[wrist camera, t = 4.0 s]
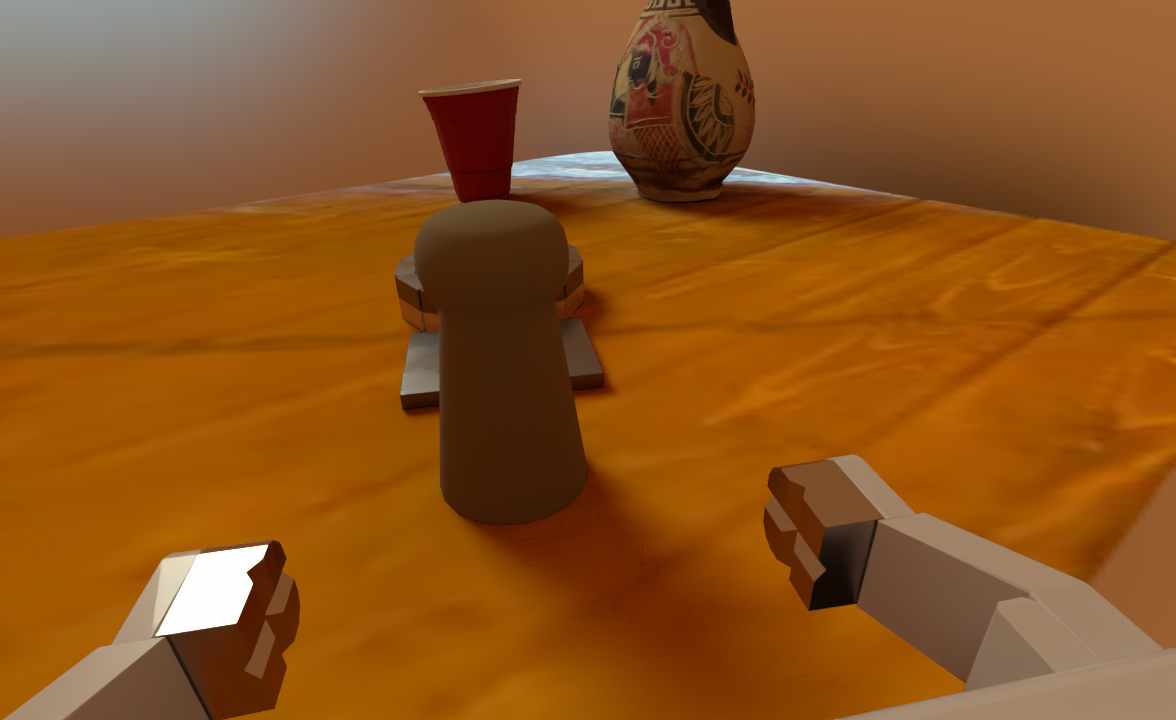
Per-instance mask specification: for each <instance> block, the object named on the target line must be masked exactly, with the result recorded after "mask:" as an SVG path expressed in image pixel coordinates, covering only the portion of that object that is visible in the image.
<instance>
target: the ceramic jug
mask: <svg viewBox="0 0 1176 720" xmlns="http://www.w3.org/2000/svg"><path fill="white" fill-rule="evenodd" d="M753 88H754V87H753V81H752V80H751V76H750V71H749V68H748V64H747V61H746V58H745V56H744V53H743V51H742V49H741V46H740V44H739V41H738V39H737V36H736V34H735V32H734V28H733V20H732V15H731V7H730V2H729V0H650V2H649V4H648V5H647V7H646V8H645V9H644V12H643V13H642V15H641V17H640V19H639V21H638V23H637V25H636V27H635V29H634V31H633V33H632V36H631V38H630V40H629V42H628V44H627V46H626V48H625V51H624V53H623V55H622V58H621V60H620V62H619V64H618V68H617V72H616V75H615V78H614V83H613V88H612V93H611V98H610V105H609V114H608V126H609V127H608V128H609V129H608V131H609V137H610V141H611V145H612V149H613V152H614V154H615V156H616V157H617V159H618V160H619V162H620V163H621V164H622V166H623V167H624V168H625V170H626V171H627V172H628V174H629V175H630V176H631V178H632V179H633V181H634V183H635V185H636V186H637V188H638V194H639V195H640V196H641V197H643V198H648V199H651V200H655V201H664V202H673V201H698V200H704V199H714V198H716V197H718V196H719V195H720V193H721V192H722V191H723V184H722V181H723V180H724V179H725V178H726V177H727V176H728V174H729V173H730V172H731V171H732V170H733V169H734V168H735V167H736V165H737V164H738V163H739V162H740V161H741V159H742V158H743V156H744V154H745V153H746V151H747V149H748V147H749V145H750V141H751V138H752V134H753V130H754V123H755V98H754V92H753Z"/></svg>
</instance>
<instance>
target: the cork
mask: <svg viewBox="0 0 1176 720" xmlns="http://www.w3.org/2000/svg"><path fill="white" fill-rule="evenodd" d="M414 263H415V268H416V274H417V277H418V279H419V281H420V283H421V285H422V288H423V290H424V292H425V294H426V296H427V298H428V299H429V300H430V301H431V302H432V303H433V304H434V305H435V306H436V307H437V308H438V309H439V394H440V486H441V490H442V493H443V496H444V499H445V501H446V502H447V503H448V504H449V505H450V506H451V507H452V508H453V509H454V510H455V511H456V512H457V513H459V514H462V515H464V516H466V517H468V518H470V519H472V520H474V521H478V522H484V523H491V524H497V525H506V524H519V523H527V522H531V521H534V520H537V519H541V518H544V517H547V516H550V515H552V514H553V513H555V512H557V511H559V510H560V509H562V508H564V507H565V506H567V505H569V504H570V503H571V502H572V501H573V499H574V498H575V497H576V496H577V495H578V494H579V493H580V492H581V491H582V489H583V486H584V484H585V481H586V478H587V476H588V474H587V466H586V459H585V454H584V449H583V443H582V438H581V433H580V428H579V422H578V417H577V412H576V407H575V401H574V396H573V391H572V386H571V380H570V375H569V370H568V365H567V359H566V354H565V349H564V344H563V338H562V333H561V328H560V323H559V317H558V312H557V307H556V302H555V299H556V297H557V296H558V294H559V293H560V291H561V290H562V288H563V287H564V286H565V284H566V280H567V275H568V271H569V248H568V243H567V239H566V236H565V232H564V229H563V227H562V225H561V224H560V222H559V221H558V219H557V218H556V216H555V215H554V214H552V213H551V212H549V211H548V210H546V209H544V208H542V207H541V206H538V205H535V204H531V203H526V202H519V201H510V200H483V201H474V202H469V203H464V204H460V205H455V206H452V207H449V208H446V209H442V210H440V211H438V212H437V213H435V214H433V215H432V216H431V217H429V218H428V219H427V220H425V221H424V223H423V225H422V227H421V229H420V231H419V233H418V236H417V238H416V240H415V247H414Z"/></svg>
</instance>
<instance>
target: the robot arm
mask: <svg viewBox="0 0 1176 720" xmlns="http://www.w3.org/2000/svg"><path fill="white" fill-rule="evenodd" d="M767 486H768V488H769V489H770V491H771V492H772V494H773V495H774V496H773V497H772V498H771V499H770V501H769V502H768V503H767V504H766V505H765V508H764V519H763V522H764V528H765V534H766V538H767V541H768V543H769V546H770V549H771V550H772V552H773V554H774V555H775V557H776V559H777V560H779V561H780V562H782V563H784V564H785V565H787V566H789V567H791V571H790V578H789V580H790V582H791V583H792V585H793V587H794V588H795V590H796V591H797V593H798V595H799V596H800V598H801V600H802V601H803V603H804V604H805V606H806V608H807V609H808V611H813V610H819V609H826V608H832V607H839V606H845V605H852V604H857V607H858V608H860V609H861V610H863V611H864V612H866V613H867V614H868V615H870V616H871V617H873V618H874V619H875V620H877V621H878V622H880V623H881V624H882V625H884V626H885V627H887V628H888V629H890V630H891V631H892V632H894V633H895V634H897V635H898V636H899V637H901V638H902V639H904V640H905V641H906V642H908V643H909V644H911V645H912V646H913V647H915V648H916V649H918V650H919V651H921V652H922V653H923V654H925V655H926V656H928V657H929V658H930V659H932V660H933V661H935V662H936V663H937V664H939V665H940V666H942V667H943V668H945V669H946V670H947V671H949V672H950V673H952V674H953V675H954V676H956V677H957V678H959V679H960V680H961V681H963V682H964V683H966V684H965V686H964V689H963V691H962V693H957V694H952V695H947V696H943V697H938V698H933V699H928V700H924V701H919V702H914V703H909V704H905V705H900V706H895V707H891V708H886V709H881V710H876V711H872V712H867V713H862V714H857V715H853V716H848V717H843V718H839V719H834V720H1176V647H1174V648H1170V649H1165V650H1163V649H1162V648H1161V647H1160V646H1159V645H1158V644H1156V643H1155V642H1154V641H1153V640H1152V639H1151V638H1150V637H1148V636H1147V635H1146V634H1145V633H1144V632H1143V631H1141V630H1140V629H1139V628H1138V627H1137V626H1136V625H1135V624H1133V623H1132V622H1131V621H1130V620H1128V618H1126V617H1125V616H1124V615H1123V614H1122V613H1121V612H1119V611H1118V610H1117V609H1116V608H1114V606H1113V605H1111V604H1110V603H1109V602H1108V601H1107V600H1105V599H1104V598H1103V597H1102V596H1101V595H1100V594H1098V593H1097V592H1096V591H1095V590H1094V589H1093V588H1092V587H1091V586H1089V585H1088V584H1087V583H1085V582H1083V581H1081V580H1078V579H1076V578H1074V577H1071V576H1069V575H1067V574H1064V573H1062V572H1060V571H1057V570H1055V569H1053V568H1051V567H1048V566H1046V565H1044V564H1041V563H1039V562H1037V561H1034V560H1032V559H1030V558H1027V557H1025V556H1023V555H1021V554H1018V553H1016V552H1014V551H1011V550H1009V549H1007V548H1004V547H1002V546H1000V545H997V544H995V543H993V542H991V541H988V540H986V539H984V538H981V537H979V536H977V535H974V534H972V533H970V532H967V531H965V530H963V529H961V528H958V527H956V526H954V525H951V524H949V523H947V522H944V521H942V520H940V519H937V518H935V517H933V516H931V515H928V514H926V513H921V514H916V513H915V512H914V511H913V510H912V509H911V508H910V507H909V506H908V505H907V504H906V503H905V502H904V501H903V500H902V499H901V498H900V497H899V496H898V495H897V494H896V493H895V492H894V491H893V490H892V489H891V488H890V487H889V486H888V485H887V484H886V483H885V482H884V481H883V480H882V479H881V478H880V477H879V475H878V474H877V473H876V472H875V471H874V470H873V469H872V468H871V467H870V466H869V465H868V464H867V463H866V462H865V461H864V460H863V459H862V458H861V457H859V456H856V455H854V454H853V455H847V456H841V457H835V458H829V459H826V460H820V461H813V462H807V463H800V464H794V465H787V466H780V467H774V468H773V469H772V470H771V472H770V474H769V479H768V485H767ZM285 561H286V556H285V553H284V551H283V549H282V546H281V544H280V542H277V541H275V540H270V541H262V542H254V543H246V544H238V545H230V546H221V547H213V548H206V549H204V550H194V551H186V552H178V553H171V554H170V555H168V556H167V557H165V558H164V559H162V560H161V562H160V563H159V565H158V567H157V568H156V570H155V572H154V573H153V575H152V577H151V578H150V580H149V582H148V583H147V585H146V587H145V588H144V590H143V592H142V593H141V595H140V597H139V598H138V600H137V602H136V604H135V605H134V607H133V609H132V610H131V612H130V614H129V615H128V617H127V619H126V620H125V622H124V624H123V625H122V627H121V629H120V630H119V632H118V634H117V635H116V637H115V639H114V640H113V642H112V644H111V645H109V646H104V647H98V648H97V649H96V650H94V651H93V652H92V653H91V654H89V655H88V656H87V657H85V658H84V659H83V660H81V661H80V662H79V663H77V664H76V665H75V666H73V667H72V668H71V669H69V670H68V671H67V672H66V673H64V674H63V675H62V676H60V677H59V678H58V679H56V680H55V681H54V682H52V683H51V684H50V685H48V686H47V687H46V688H44V689H43V690H42V691H41V692H39V693H38V694H37V695H35V696H34V697H33V698H31V699H30V700H29V701H27V702H26V703H25V704H23V705H22V706H21V707H19V708H18V709H17V710H16V711H14V712H13V713H12V714H10V715H9V716H8V717H6V718H5V719H4V720H223V719H228V718H233V717H238V716H242V715H247V714H252V713H257V712H261V711H266V710H271V709H275V706H276V703H277V699H278V696H279V692H280V689H281V686H282V682H283V679H284V675H285V672H286V669H287V666H286V663H285V661H284V658H283V656H282V653H283V652H284V651H285V650H286V649H287V648H288V647H289V646H290V645H291V644H292V643H293V642H294V641H295V637H296V633H297V629H298V626H299V614H300V601H299V594H298V589H297V586H296V583H295V580H294V579H293V578H292V577H290V576H288V575H287V574H285V573H284V572H282V570H283V567H284V564H285Z"/></svg>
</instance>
